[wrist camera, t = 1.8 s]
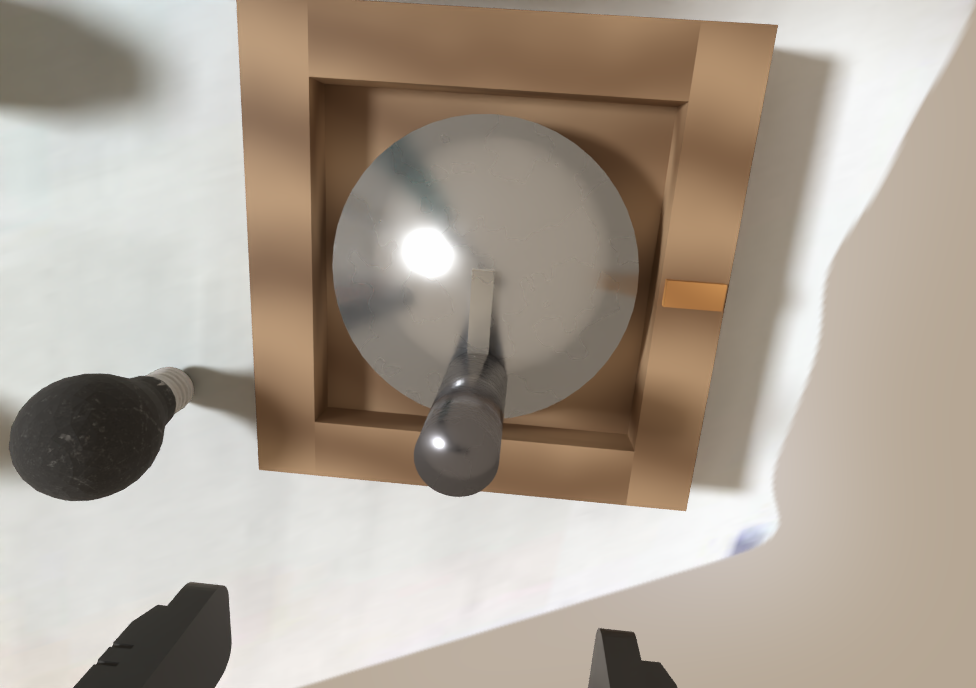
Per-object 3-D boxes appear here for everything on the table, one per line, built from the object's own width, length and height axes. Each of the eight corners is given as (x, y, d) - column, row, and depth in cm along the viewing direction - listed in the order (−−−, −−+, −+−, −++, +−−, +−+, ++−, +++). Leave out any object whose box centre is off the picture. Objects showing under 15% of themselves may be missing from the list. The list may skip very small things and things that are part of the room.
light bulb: (158, 315, 32) (-2, 375, 22) (246, 372, 32) (127, 454, 23) (117, 392, 33) (-48, 479, 24) (202, 445, 34) (74, 551, 24)
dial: (345, 108, 27) (242, 70, 17) (651, 129, 26) (723, 101, 16) (345, 391, 31) (262, 489, 21) (611, 415, 30) (650, 528, 20)
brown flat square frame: (271, 15, 27) (231, -10, 23) (746, 44, 26) (782, 22, 22) (285, 440, 33) (255, 473, 30) (669, 476, 32) (688, 515, 29)
